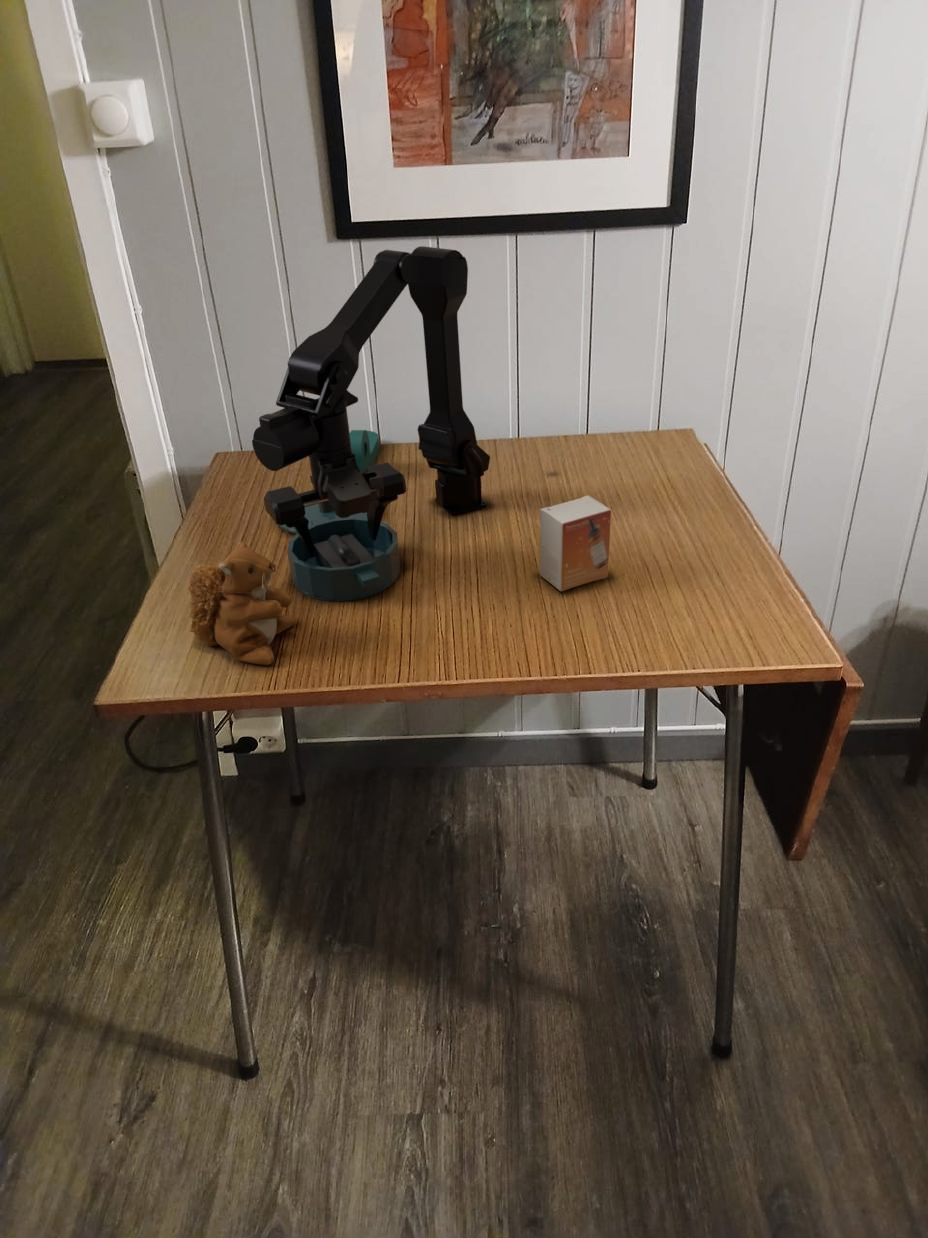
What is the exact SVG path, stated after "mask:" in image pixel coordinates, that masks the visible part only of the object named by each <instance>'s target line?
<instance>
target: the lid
mask: <svg viewBox="0 0 928 1238" xmlns="http://www.w3.org/2000/svg"><path fill="white" fill-rule="evenodd" d="M305 513H306V514H305V515H304V516H305V517H306V518H307V519H308V521H309V524H308V527H309V526H311V525H312V523H311V521H312V520H315V519H319V518H323V517H327V518H328V520H332V519H338V518H340V517H338V516H337V515H336V514H335V511H334V509H333V507H332V505H331V504H330V502H329V501H327V502H323V503H319V504H315V505H311V506H307V507H305ZM351 517H357V518H366V519H367V512H366V513H358V514H354V515H351V516H349V517H347V518H351ZM278 526H279V527H280V528H281V529H282V530H284V531H286V532H288V533H291V534H293V535H296V534H297V531H296V530H295V528H294V527H292V528H288V527H286V526H285V525H278Z"/></svg>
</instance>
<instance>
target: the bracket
mask: <svg viewBox="0 0 928 1238" xmlns="http://www.w3.org/2000/svg"><path fill="white" fill-rule="evenodd" d="M349 432H350V441H351V449H352V452H353V453H354V454H355V458H356V463H357V466H358V468H359V470H360V472H362V471H364V470H365V468H366V467H370V466H374V463H375V460H376V458H377V456H378V453H379V452H380V449H381V447H380V445H381V444H380V436H379V434H378V433H377V432H375V431H372V430H366V429H352V430H350V431H349Z"/></svg>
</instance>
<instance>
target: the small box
mask: <svg viewBox="0 0 928 1238" xmlns="http://www.w3.org/2000/svg"><path fill="white" fill-rule="evenodd" d="M539 518H540V519H539V575H540V576H541V577H542V578H543V579H545V580H546V581H547V582H548V583H549V584H551V586H553V587H554V588H556V589H557V590H558V591H559V592H565V591H567V590H569V589H573V588H576V587H579V586H582V585H586V584H589V583H592V582H595V581H598V580H604V579H606V578H608V576H609V562H610V541H611V519H612V510H611V509H610V508H609V507H607V506H606V505H604V504H603V503H601V502H600V501H598V500H597V499H595V498H593V497H592V496H591V495H589V494H588V495H584V496H582V497H579V498H576V499H572V500H569V501H565V502H562V503H558V504H555V505H551V506H547V507H542V508H540V509H539Z"/></svg>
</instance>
